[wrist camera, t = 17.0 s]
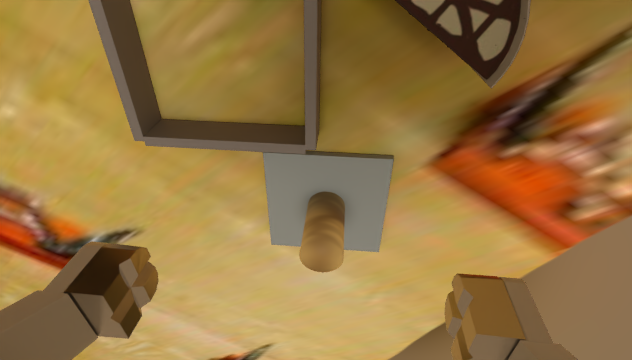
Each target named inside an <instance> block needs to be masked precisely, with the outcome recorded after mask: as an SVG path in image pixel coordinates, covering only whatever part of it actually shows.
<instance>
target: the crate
mask: <svg viewBox="0 0 632 360" xmlns="http://www.w3.org/2000/svg"><path fill="white" fill-rule="evenodd" d="M89 3H90V7H91V10H92V13H93V16H94V19H95V22H96V25H97V28H98V31H99V34H100V37H101V40H102V43H103V46H104V49H105V52H106V55H107V58H108V61H109V64H110V67H111V70H112V73H113V76H114V79H115V82H116V85H117V88H118V91H119V94H120V98H121V101H122V104H123V107H124V110H125V113H126V116H127V119H128V122H129V125H130V128H131V131H132V134H133V137H134V140H135V141H145V145H146V146H161V147H180V148H199V149H218V150H236V151H255V152H274V153H293V154H306V150H316V146H317V141H318V135H319V112H320V49H321V0H304V58H305V126H293V125H272V124H251V123H230V122H209V121H188V120H168V119H161V116H160V112H159V108H158V104H157V101H156V97H155V93H154V90H153V86H152V82H151V78H150V75H149V71H148V67H147V64H146V60H145V56H144V52H143V49H142V45H141V41H140V37H139V34H138V30H137V26H136V23H135V19H134V15H133V11H132V8H131V4H130V0H89Z"/></svg>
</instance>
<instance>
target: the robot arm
mask: <svg viewBox="0 0 632 360" xmlns="http://www.w3.org/2000/svg"><path fill="white" fill-rule="evenodd" d="M150 257H151V256H150V254H149V252H148V250H147V248H144V247H137V246H128V245H119V244H110V243H100V242H90V243H88V244H86V245H84V246H83V247H82V248H81V249H80V250H79V252H78V253H77V254H76V255H75V256H74V257H73V258H72V259H71V260H70V261H69V263H68V264H67V265H66V266H65V267H64V268H63V269H62V270H61V271H60V273H59V274H58V275H57V276H56V277H55V278H54V279H53V280H52V281H51V283H50V284H49V285H48V286H47V287H46V288H45V289H44V290H43V291H36V292H34V293H32V294H30V295H28V296H26V297H25V298H23V299H21V300H19V301H17V302H15V303H14V304H12V305H10V306H8V307H6V308H4V309H3V310H1V311H0V360H72V359H73V358H74V357H75V356H77V355H78V354H79V353H80V352H81V351H83V350H84V349H85V348H86V347H88V346H89V345H90V344H91V343H92V342H94V341H95V340H96V339H97V338H98V337H97V336H104V337H116V338H127V339H129V337H130V335H131V334H132V332H133V330H134V328H135V327H136V325H137V323H138V322H139V320H140V318H141V317H142V312H141V307H143V306H144V305H145V304H147V303H148V302H150V301H151V299H152V297H153V296H154V294H155V292H156V288H157V284H158V272H157V270H156V267H155V266H153V265H152V264H151V263H150V262H148V260H149V258H150ZM452 286H453V291H452V292H450V293H449V294H448V295H447V299H446V302H445V322H446V327H447V332H448V333H449V334H450V335H451V336H452V337H453V338H454V342H453V344H452V347H451V352H452V357H453V360H578V359H577V358H575V357H574V356H573V355H572V354H571V353H570V352H569V351H567V350H566V349H565V348H564V347H563V346H562V345H561V344H555V343H553V341H552V339H551V337H550V335H549V333H548V330H547V328H546V326H545V324H544V322H543V320H542V318H541V315H540V313H539V311H538V309H537V307H536V304H535V302H534V300H533V298H532V296H531V294H530V291H529V289H528V287H527V285H526V283H525V282H524V281H523V280H522V279H517V278H505V277H497V276H484V275H470V274H456V275H455V276H454V278H453V281H452Z"/></svg>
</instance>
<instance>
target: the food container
mask: <svg viewBox="0 0 632 360" xmlns="http://www.w3.org/2000/svg"><path fill="white" fill-rule="evenodd" d="M395 1H396V2H397V3H399V4H400V5H401V6H402V7H403V8H404V9H406V10H407V11H408V12H409V14H410V15H412V16H414V17H415V18H416V19H417V20H418V21H419V22H420V23H422V24H423V25H424V26H425V27H426V28H427V30H428V31H431V32H432V33H433V34H434V35H435V36H437V37H438V38H439V39H440V40H441V41H442V42H444V43H445V44H446V45H447V47H449V48H450V49H451V50H452V51H453V52H455V53H456V54H457V55H458V56H459V57H460V58H461V59H462V60H464V61H465V62H466V63H467V64H468V65H469V66H471V67H472V69H473V70H474V71H475V72H476V73H477V74H478V75H479V76H480V77H481V78H482V79H483V80H484V81H485V82H486V83H487V84H488V86H489V87H490V88H492V87H493V86H494V85H495V84H496V83H497V82H498V81H499V80H500V79H501V78H502V76H503V75H504V74H505V72H506V71H507V70H508V68H509V67H510V66H511V64H512V62H513V60H514V59H515V57H516V55H517V53H518V51H519V49H520V46H521V44H522V41H523V39H524V36H525V32H526V28H527V24H528V20H529V13H530V1H531V0H395Z"/></svg>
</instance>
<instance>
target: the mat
mask: <svg viewBox="0 0 632 360" xmlns="http://www.w3.org/2000/svg"><path fill="white" fill-rule="evenodd" d="M263 157H264V168H265V179H266V190H267V201H268V212H269V223H270V234H271V244H272V245H286V246H300V247H301V243H302V237H303V231H304V225H305V219H306V213H307V207H308V202H309V199H310V198H311V197H312V196H313V195H315V194H316V193H319V192H332V193H335V194H337V195H338V196H340V197H341V198H342V199H343V201H344V203H345V224H344V250H356V251H370V252H379V248H380V241H381V235H382V229H383V223H384V217H385V210H386V204H387V198H388V192H389V186H390V179H391V173H392V167H393V161H394V158H393V156H391V155H372V154H353V153H334V152H315V151H306V154H293V153H274V152H263Z"/></svg>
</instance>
